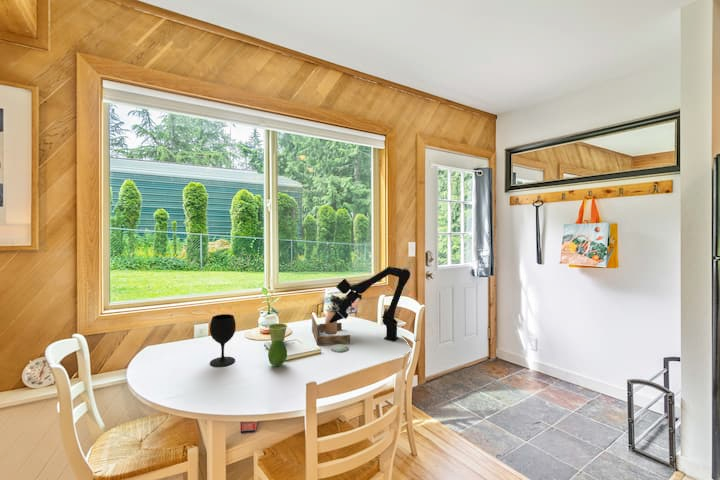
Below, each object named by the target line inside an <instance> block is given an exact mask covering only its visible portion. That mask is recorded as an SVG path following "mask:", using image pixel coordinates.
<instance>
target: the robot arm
mask: <svg viewBox="0 0 720 480" xmlns="http://www.w3.org/2000/svg"><path fill="white" fill-rule="evenodd" d="M389 275H391V276H394V277H396V278H398V280H397V286H396V288H395V290H394V293H393V296H392V299H391V302H390V305H389V307H388V308H384V309H385V310H384V312H383V315H381V318H382V324H384V326H385V328H386V331H385V333H386V336H385V337H383V340H387V341H392V342H396V341H397V340H399V339H400V337H399V336H398V324H399V323H398V322H399V321H398V320H396V319H395V315H396V310H397V307H398V303H399V301H400V298H401V295H402V293H403V290H404V289H405V286H406V285H407V283H408V281H409V279H410V277H411V271H410V269H409V268H406V267H403V268H399V267H393V266H386V268H384V269H382V270H381V271H379V272H378V273H376V274H375V275H373V276H371V277H370V278H367V279H364V280H362V281H359V282H358V283H353V284H351V283H350V282H349V281H348V280H347V279H346V278H343V279H342V281H340V282H339V283H338V284H337V285H336V286H335V287H336V289H338V291H339V292H340V293H341V294H342V295H344V294H345V296H341V297H340V296H338V295H334V294H331V297H330V298H329V301H330V302H331V304H332V305H331V309H336V310H337V311H336V310H335V314H334V316H333V317H332V318H331V320H330V321H329V322H330V323H333V322H335V321H337V322H338V321H340V320H342V319H343V320H344V319H345V320H346V319H347V318H348V317H349V314H348V311H347V310H348V309H349V308H352V307H353V304H354V303H355V302H356V301H357V300H358V299H359V300H360V301H361V300H362V297H363V294H364V293H365V292H366V291H367V290H369V288H371V286H373V285H375V284H376V283H377V282H379V281H382V279H385V278H386V277H388V276H389Z"/></svg>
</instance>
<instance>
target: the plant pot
mask: <svg viewBox="0 0 720 480" xmlns="http://www.w3.org/2000/svg"><path fill="white" fill-rule="evenodd" d="M287 328H288V324H285V323H273V324H269V325H268V329H269V333H270V340H271V343H272V342H273V341H274V339H276V338H279V339H281V340H282V341H284V342H285V337H286V331H287Z"/></svg>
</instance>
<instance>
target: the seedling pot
mask: <svg viewBox="0 0 720 480" xmlns="http://www.w3.org/2000/svg"><path fill="white" fill-rule="evenodd" d="M335 310H336V309H332V308H328V309H326V310H325V315H324V316H325V318H324V319H325V321H324V322H325V331H324V333H325V335H327V336H335V335H336V334H337V333H338V330H337V323H338V321H335V322H333V323H330V322H329V321H330V320H331V318H332V317H333V316H334V314H335ZM336 311H337V310H336Z"/></svg>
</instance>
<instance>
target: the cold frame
mask: <svg viewBox="0 0 720 480" xmlns="http://www.w3.org/2000/svg"><path fill="white" fill-rule="evenodd" d="M311 315H312V316H311V332H312V334H313V338H314V341H315V343H316V345H317V346H323V345H324V346H325V345H337V344H342V345H344V344H351V335H350V334H342V335H322V336H320V332H325V323H320V321H319V318H318V317H317V314H316V313H315V312H311ZM342 325H343V324H342V322H337V331H342V328H343V327H342Z"/></svg>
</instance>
